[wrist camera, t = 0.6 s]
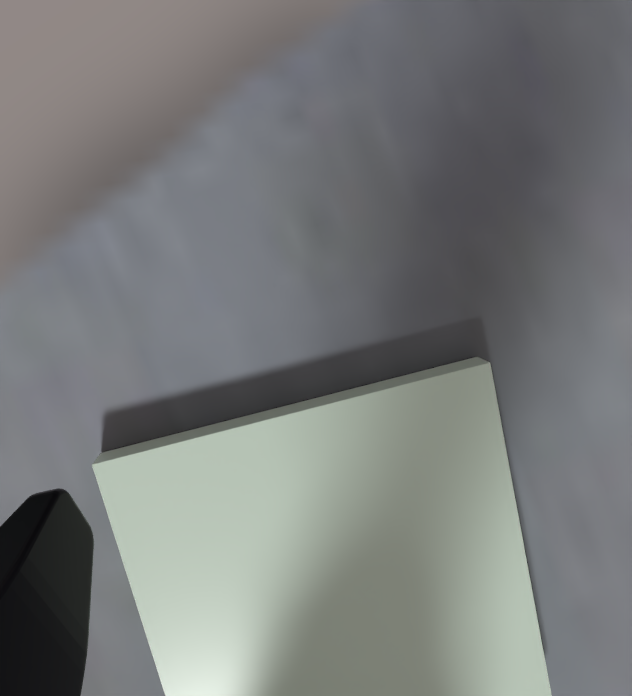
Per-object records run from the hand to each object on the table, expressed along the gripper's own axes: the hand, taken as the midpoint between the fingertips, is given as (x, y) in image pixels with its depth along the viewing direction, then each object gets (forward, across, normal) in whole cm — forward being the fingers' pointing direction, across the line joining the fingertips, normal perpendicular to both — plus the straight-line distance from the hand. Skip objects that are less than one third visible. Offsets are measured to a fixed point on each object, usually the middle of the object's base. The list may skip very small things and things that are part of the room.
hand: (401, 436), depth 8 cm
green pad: (+8, +2, +14) cm, 17 cm away
